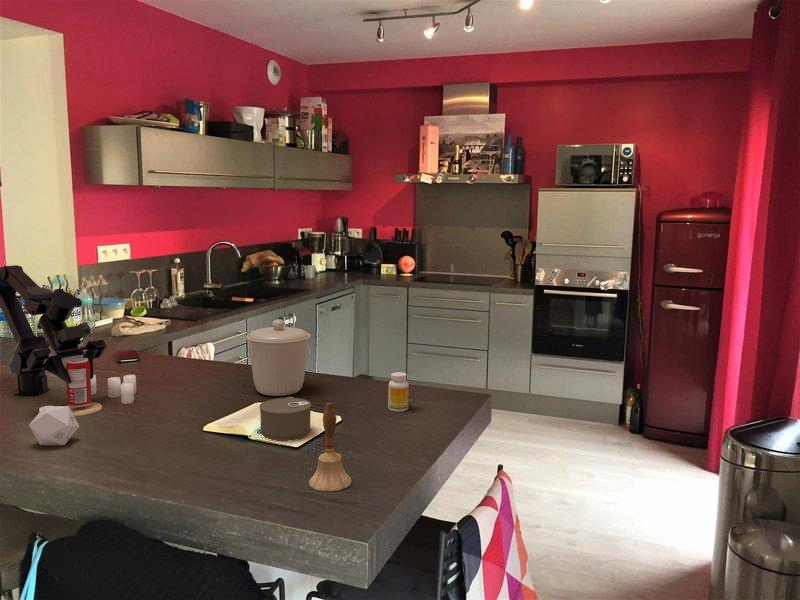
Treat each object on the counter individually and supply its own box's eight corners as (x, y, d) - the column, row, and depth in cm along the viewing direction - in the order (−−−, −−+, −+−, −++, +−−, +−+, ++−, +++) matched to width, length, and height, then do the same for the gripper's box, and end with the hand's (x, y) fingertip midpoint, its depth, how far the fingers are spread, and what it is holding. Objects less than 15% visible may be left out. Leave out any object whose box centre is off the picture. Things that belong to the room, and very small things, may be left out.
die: (46, 456, 140) (75, 416, 142) (13, 433, 141) (43, 394, 143) (65, 456, 148) (93, 418, 150) (34, 434, 149) (62, 397, 151)
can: (255, 428, 158) (254, 400, 157) (303, 422, 163) (303, 395, 162) (266, 444, 147) (265, 415, 146) (317, 437, 152) (317, 409, 151)
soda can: (84, 399, 173) (82, 355, 171) (95, 403, 169) (93, 358, 168) (63, 404, 168) (61, 359, 166) (74, 409, 165) (72, 362, 163)
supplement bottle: (385, 406, 176) (385, 372, 175) (404, 405, 178) (404, 370, 176) (392, 412, 171) (392, 377, 170) (411, 411, 173) (411, 375, 171)
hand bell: (300, 487, 125) (300, 406, 123) (321, 471, 133) (321, 395, 130) (340, 495, 122) (340, 412, 120) (358, 478, 130) (359, 400, 127)
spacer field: (16, 429, 154) (15, 409, 153) (89, 390, 187) (88, 373, 186) (88, 431, 153) (87, 411, 152) (148, 392, 186) (148, 375, 185)
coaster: (50, 415, 164) (50, 413, 164) (72, 403, 174) (71, 401, 174) (89, 416, 164) (89, 414, 164) (108, 404, 174) (108, 402, 173)
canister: (234, 395, 184) (232, 322, 181) (269, 380, 200) (269, 312, 197) (289, 404, 177) (289, 327, 174) (322, 387, 194) (322, 317, 191)
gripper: (29, 318, 160) (54, 369, 155) (101, 309, 175) (126, 355, 170) (16, 344, 166) (40, 395, 161) (87, 333, 181) (111, 379, 176)
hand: (81, 380), depth 167 cm, fingers closed on soda can, 5 cm apart
